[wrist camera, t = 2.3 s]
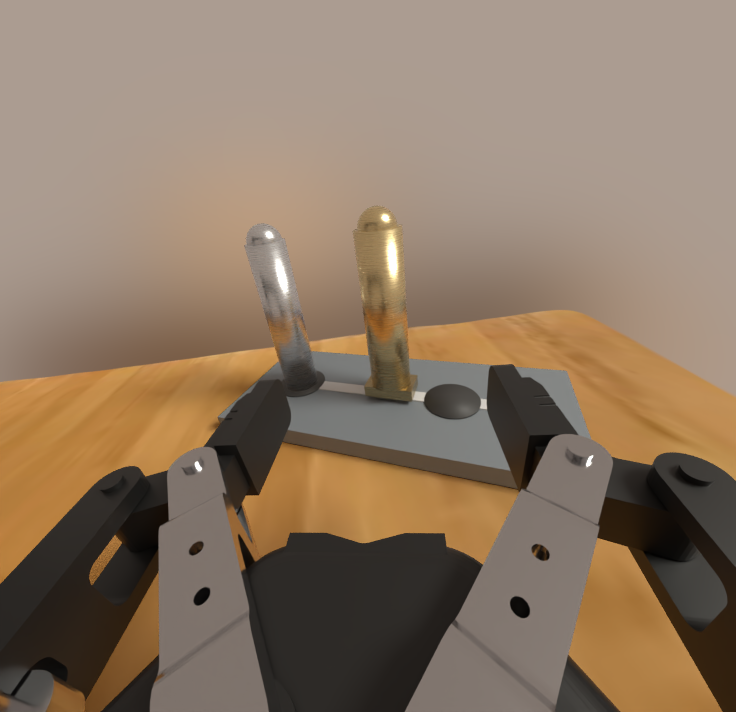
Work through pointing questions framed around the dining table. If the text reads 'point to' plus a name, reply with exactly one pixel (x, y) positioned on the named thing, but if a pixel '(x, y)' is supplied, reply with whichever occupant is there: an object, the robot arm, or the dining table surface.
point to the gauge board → (411, 416)
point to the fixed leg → (281, 305)
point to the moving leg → (384, 304)
